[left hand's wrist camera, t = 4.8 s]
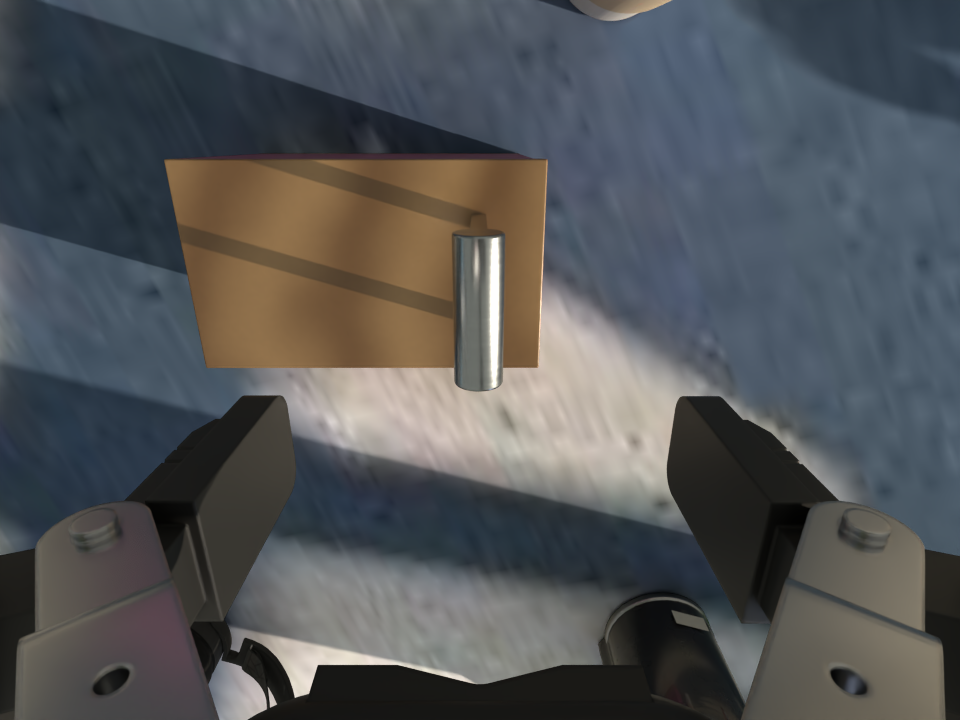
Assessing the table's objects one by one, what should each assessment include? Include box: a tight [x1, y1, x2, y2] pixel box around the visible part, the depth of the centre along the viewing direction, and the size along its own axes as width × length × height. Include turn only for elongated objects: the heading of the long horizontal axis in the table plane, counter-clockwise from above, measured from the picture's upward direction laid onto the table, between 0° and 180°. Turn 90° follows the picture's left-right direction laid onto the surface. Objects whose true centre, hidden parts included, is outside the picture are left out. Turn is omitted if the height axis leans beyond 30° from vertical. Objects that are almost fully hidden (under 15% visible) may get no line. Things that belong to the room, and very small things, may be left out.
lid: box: [164, 159, 547, 391], centre depth 23 cm, size 17×10×8 cm, turn 90°
